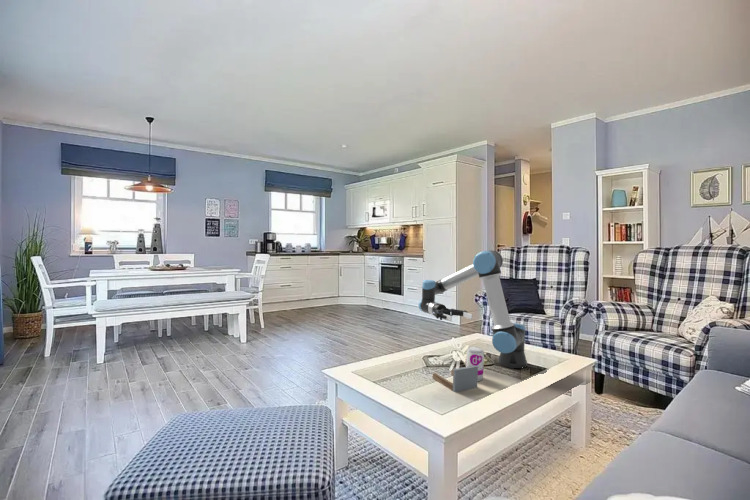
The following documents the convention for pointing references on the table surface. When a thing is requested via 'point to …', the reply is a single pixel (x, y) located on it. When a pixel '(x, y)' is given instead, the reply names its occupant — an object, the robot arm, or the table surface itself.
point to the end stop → (465, 378)
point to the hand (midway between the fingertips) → (461, 317)
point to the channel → (443, 381)
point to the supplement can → (476, 360)
